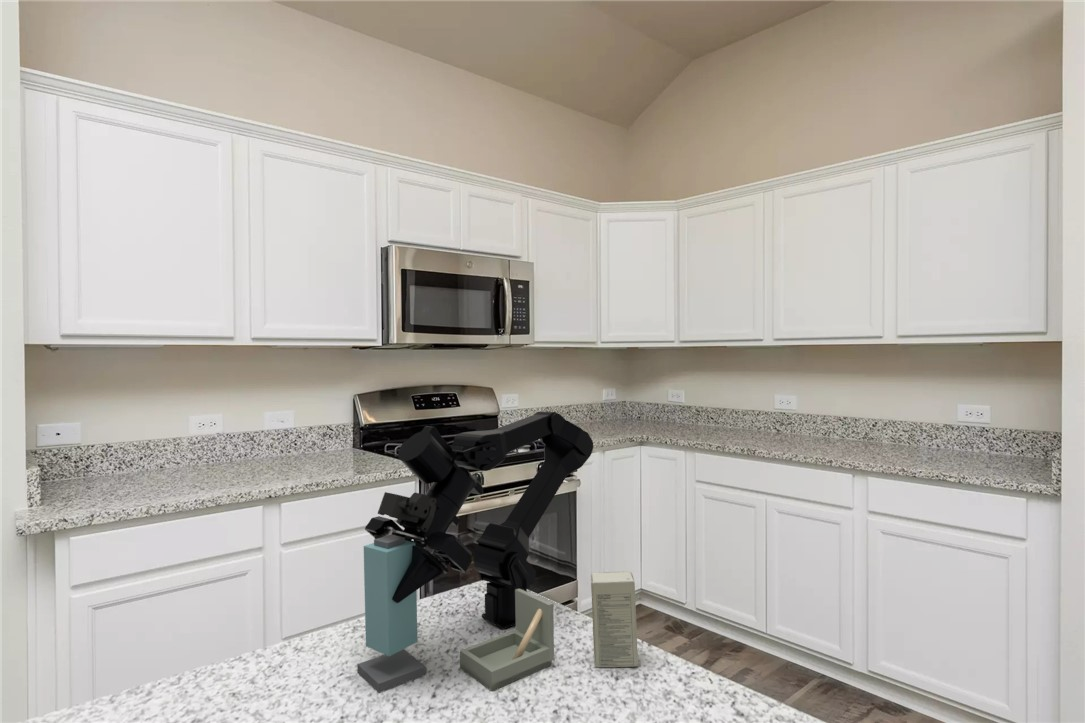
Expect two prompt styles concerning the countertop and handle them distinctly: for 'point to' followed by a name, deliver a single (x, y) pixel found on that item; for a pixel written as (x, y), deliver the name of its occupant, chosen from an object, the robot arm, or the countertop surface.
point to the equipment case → (514, 645)
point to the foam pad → (391, 670)
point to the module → (388, 596)
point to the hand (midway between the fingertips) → (382, 596)
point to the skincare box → (614, 619)
